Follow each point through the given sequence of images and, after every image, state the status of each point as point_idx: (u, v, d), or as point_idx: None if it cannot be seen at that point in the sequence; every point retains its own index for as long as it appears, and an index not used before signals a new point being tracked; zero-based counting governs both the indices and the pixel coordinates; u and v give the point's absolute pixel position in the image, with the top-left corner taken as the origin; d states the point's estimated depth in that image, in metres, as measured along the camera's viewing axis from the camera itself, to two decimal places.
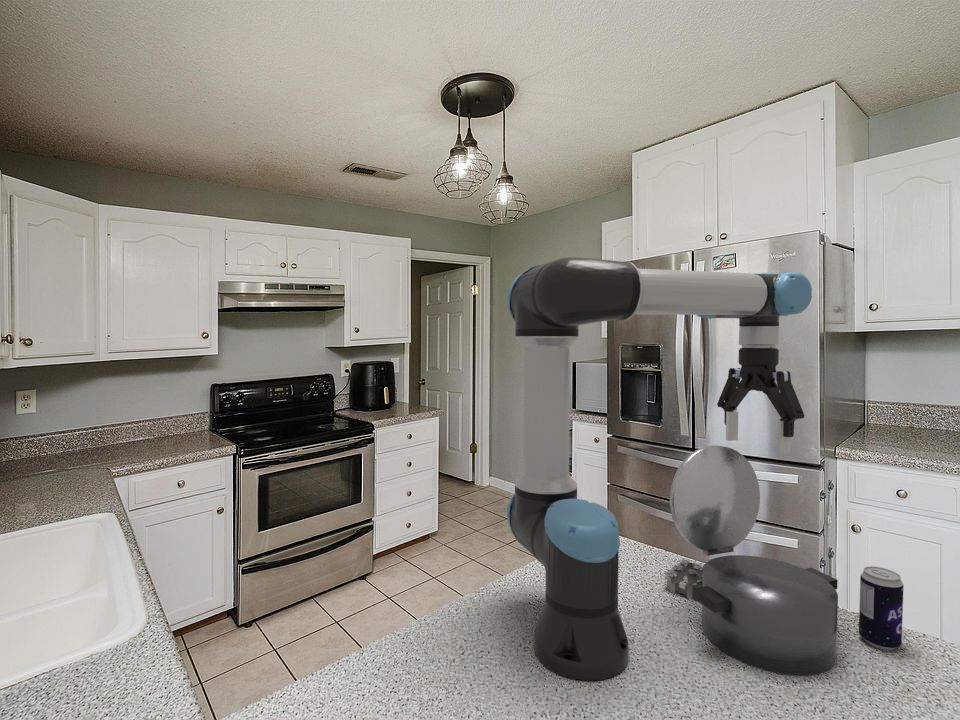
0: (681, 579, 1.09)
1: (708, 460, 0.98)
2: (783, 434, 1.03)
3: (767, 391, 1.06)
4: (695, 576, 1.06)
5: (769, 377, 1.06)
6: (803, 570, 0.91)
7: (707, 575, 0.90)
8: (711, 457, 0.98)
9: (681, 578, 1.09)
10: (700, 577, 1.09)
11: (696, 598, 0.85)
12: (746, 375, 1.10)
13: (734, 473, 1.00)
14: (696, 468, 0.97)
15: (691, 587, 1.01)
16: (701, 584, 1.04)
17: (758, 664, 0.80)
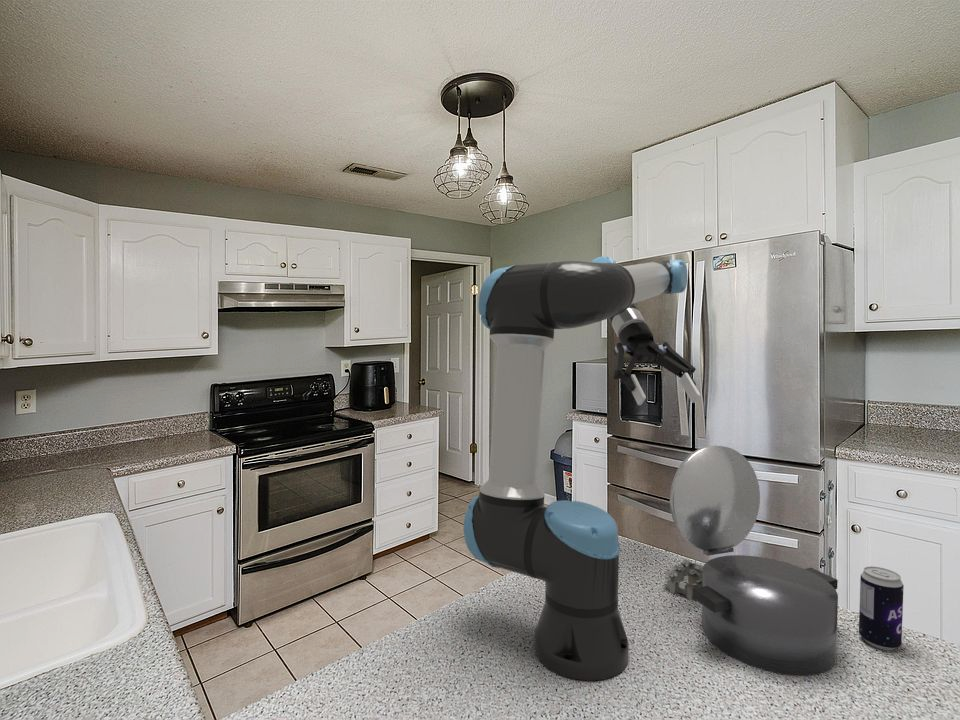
0: (682, 579, 1.09)
1: (708, 460, 0.98)
2: None
3: (664, 354, 1.20)
4: (695, 576, 1.06)
5: (658, 347, 1.22)
6: (803, 570, 0.91)
7: (707, 575, 0.90)
8: (711, 457, 0.98)
9: (682, 578, 1.09)
10: (701, 577, 1.09)
11: (696, 598, 0.85)
12: (641, 344, 1.20)
13: (734, 473, 1.00)
14: (696, 468, 0.97)
15: (691, 587, 1.01)
16: (701, 584, 1.04)
17: (758, 664, 0.80)
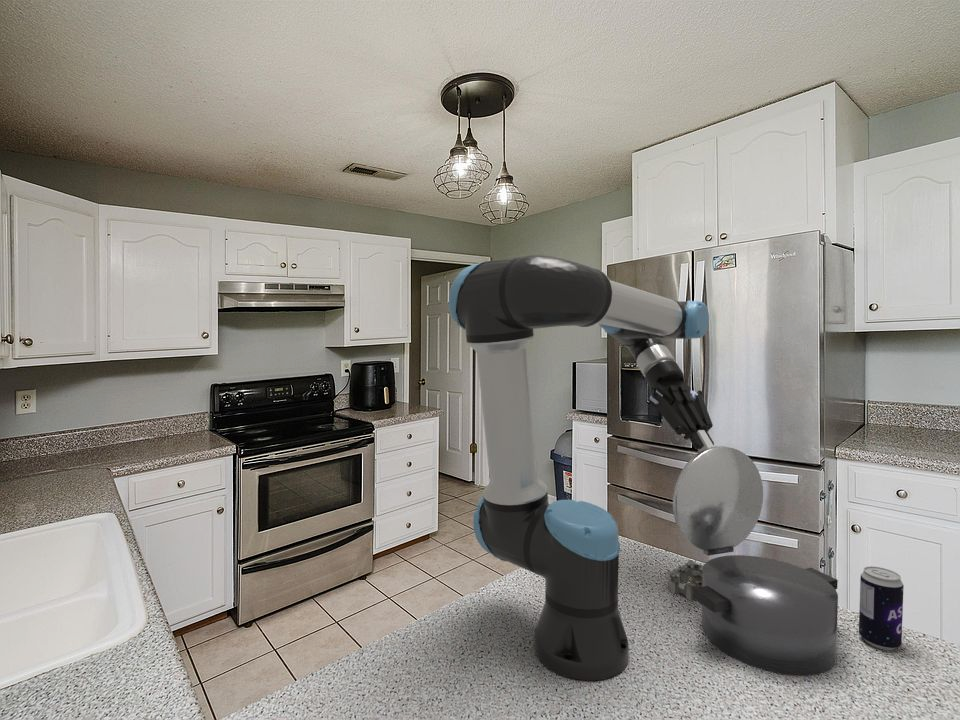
0: (685, 580, 1.08)
1: (713, 461, 0.97)
2: None
3: (690, 402, 1.08)
4: (698, 577, 1.06)
5: (689, 390, 1.11)
6: (803, 570, 0.91)
7: (707, 575, 0.90)
8: (716, 458, 0.97)
9: (685, 579, 1.08)
10: None
11: (696, 598, 0.85)
12: (671, 386, 1.09)
13: (739, 474, 0.99)
14: (701, 469, 0.96)
15: (690, 587, 1.01)
16: None
17: (758, 664, 0.80)
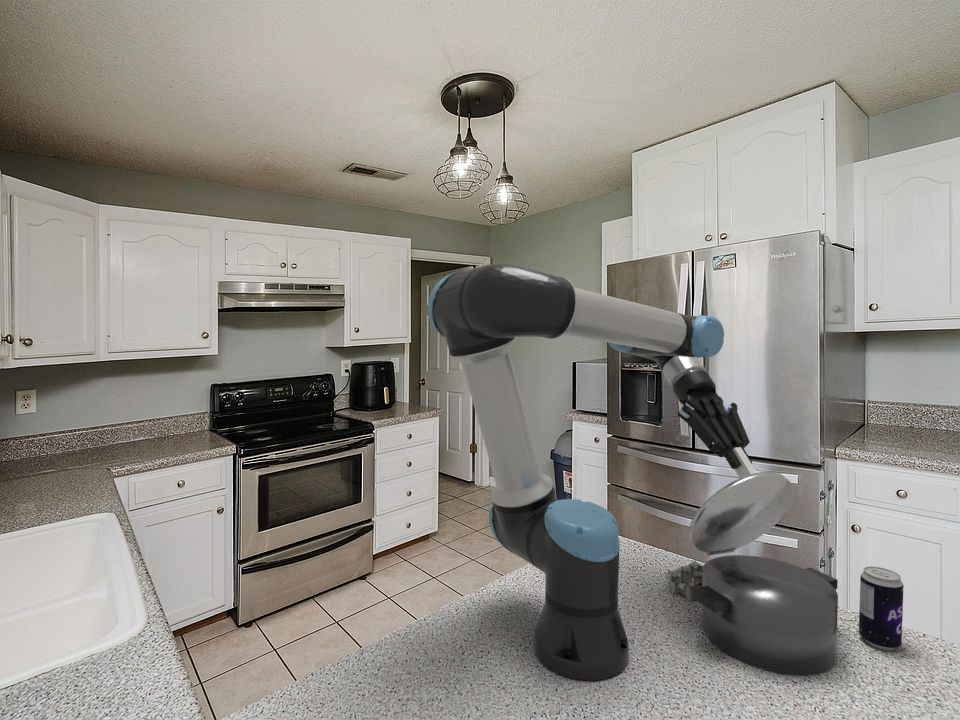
0: (688, 581, 1.08)
1: (753, 488, 0.88)
2: None
3: (724, 415, 0.98)
4: (700, 578, 1.05)
5: (721, 402, 1.02)
6: (803, 570, 0.91)
7: (707, 575, 0.90)
8: (757, 486, 0.88)
9: (688, 580, 1.08)
10: None
11: (696, 598, 0.85)
12: (703, 398, 1.00)
13: (773, 497, 0.91)
14: (736, 495, 0.88)
15: (689, 588, 1.01)
16: None
17: (758, 664, 0.80)
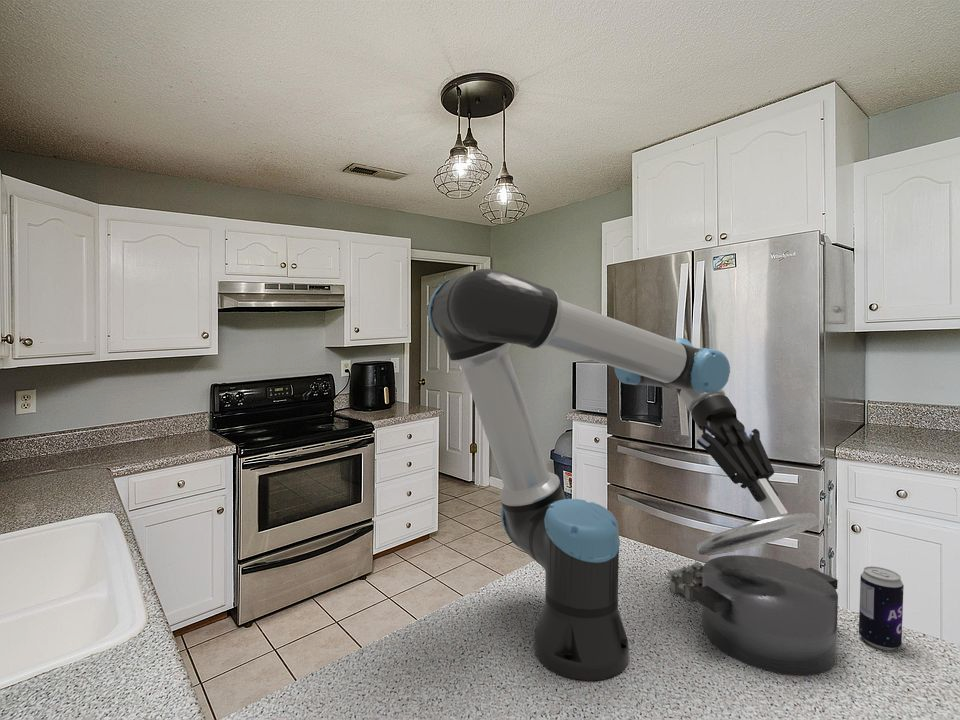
0: (690, 581, 1.08)
1: (778, 527, 0.83)
2: None
3: (746, 443, 0.94)
4: (701, 579, 1.05)
5: (743, 428, 0.97)
6: (803, 570, 0.91)
7: (707, 575, 0.90)
8: (784, 525, 0.83)
9: (690, 580, 1.08)
10: None
11: (696, 598, 0.85)
12: (724, 424, 0.95)
13: (794, 528, 0.87)
14: (759, 531, 0.83)
15: (689, 588, 1.01)
16: None
17: (758, 664, 0.80)
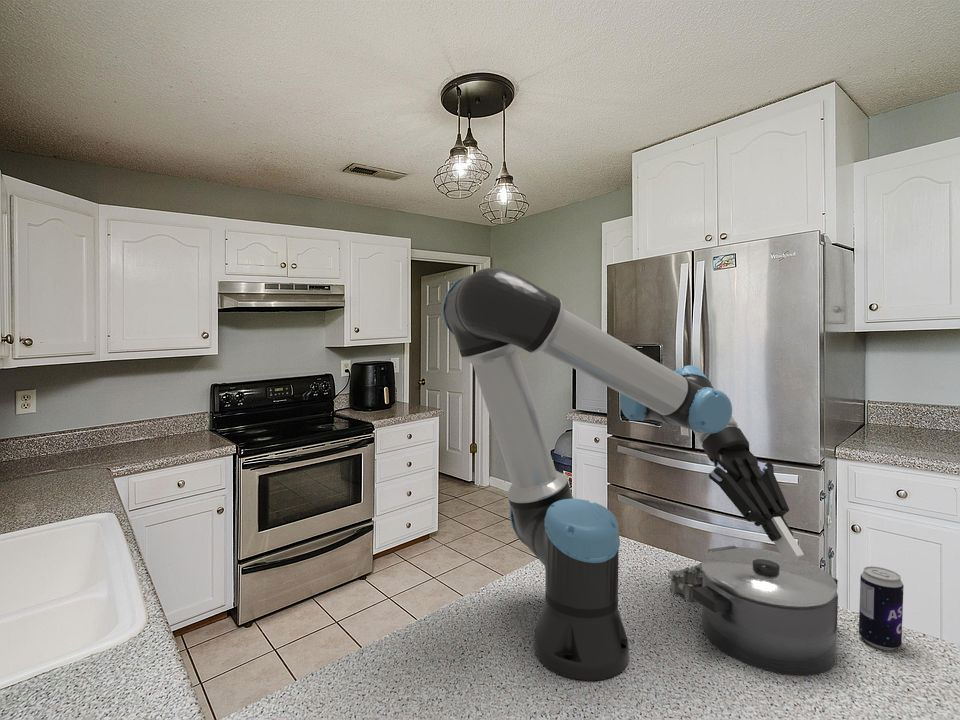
0: (692, 582, 1.07)
1: None
2: None
3: (760, 479, 0.91)
4: (702, 580, 1.04)
5: (756, 462, 0.94)
6: None
7: None
8: None
9: (692, 581, 1.07)
10: None
11: (696, 598, 0.85)
12: (736, 458, 0.92)
13: None
14: None
15: (688, 588, 1.01)
16: None
17: (758, 664, 0.80)
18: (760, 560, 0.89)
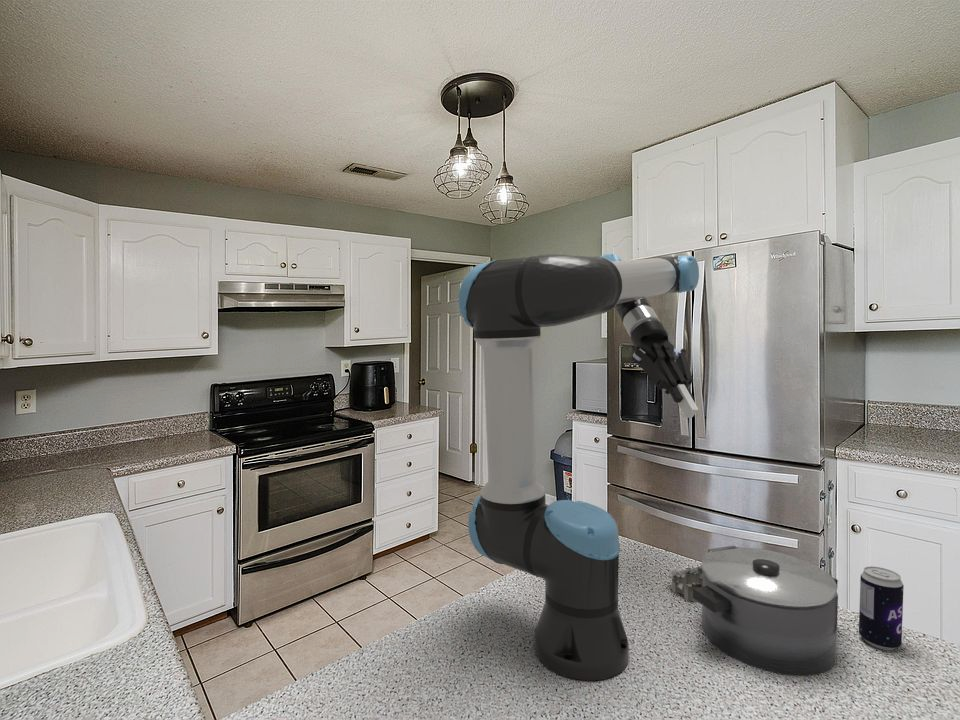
0: (694, 583, 1.07)
1: None
2: None
3: (672, 359, 1.11)
4: None
5: (672, 348, 1.14)
6: None
7: None
8: None
9: (694, 582, 1.07)
10: None
11: (696, 598, 0.85)
12: (654, 343, 1.13)
13: None
14: None
15: (687, 588, 1.01)
16: None
17: (758, 664, 0.80)
18: (760, 560, 0.89)
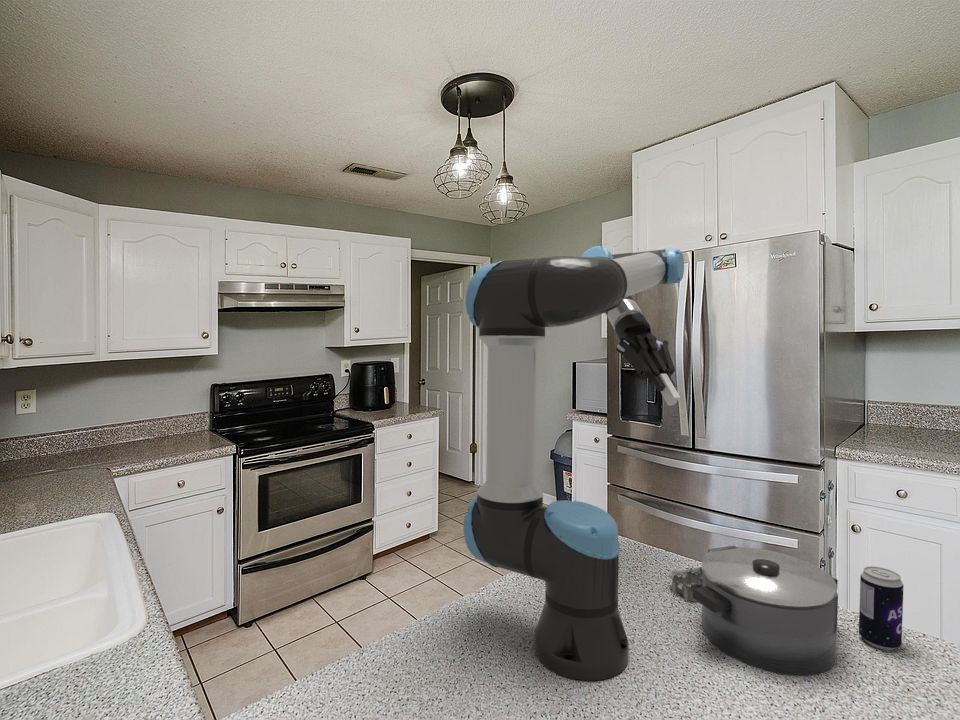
0: (696, 583, 1.07)
1: None
2: None
3: (655, 349, 1.15)
4: None
5: (655, 340, 1.18)
6: None
7: None
8: None
9: (696, 582, 1.07)
10: None
11: (696, 598, 0.85)
12: (638, 335, 1.17)
13: None
14: None
15: (687, 588, 1.01)
16: None
17: (758, 664, 0.80)
18: (760, 560, 0.89)
